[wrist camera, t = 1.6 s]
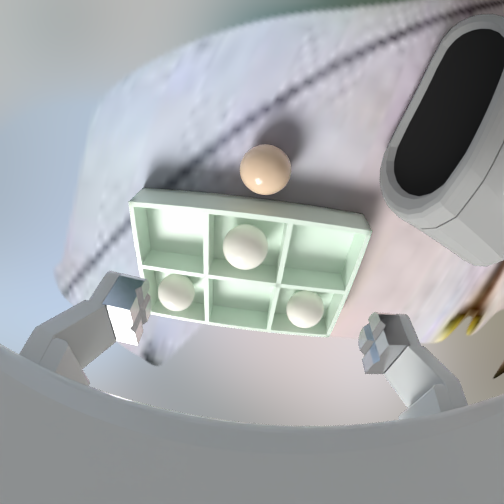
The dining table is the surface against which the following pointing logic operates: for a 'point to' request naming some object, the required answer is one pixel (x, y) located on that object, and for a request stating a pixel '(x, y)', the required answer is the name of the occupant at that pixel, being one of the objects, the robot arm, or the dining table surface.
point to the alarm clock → (455, 145)
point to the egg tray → (253, 280)
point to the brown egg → (265, 169)
